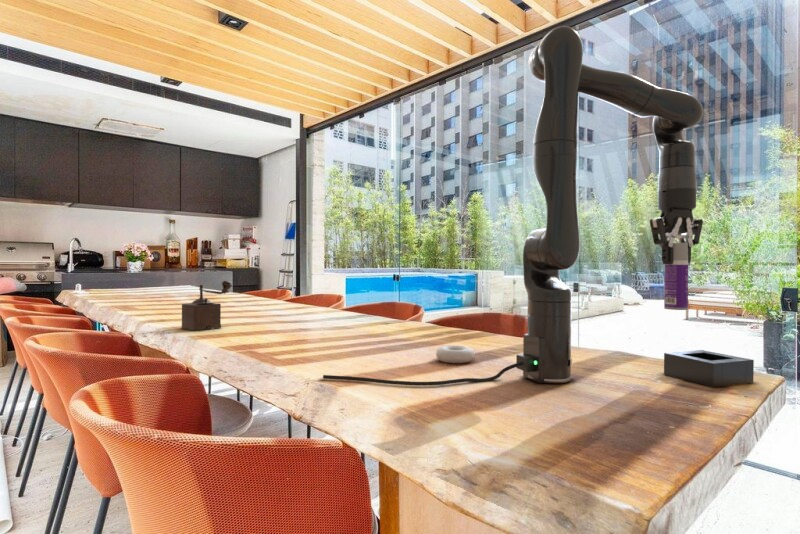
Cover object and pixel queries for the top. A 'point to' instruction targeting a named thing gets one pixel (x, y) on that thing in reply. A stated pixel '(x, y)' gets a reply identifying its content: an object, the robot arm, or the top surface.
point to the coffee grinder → (203, 311)
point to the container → (677, 279)
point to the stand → (709, 368)
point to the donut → (455, 354)
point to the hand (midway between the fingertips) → (676, 263)
